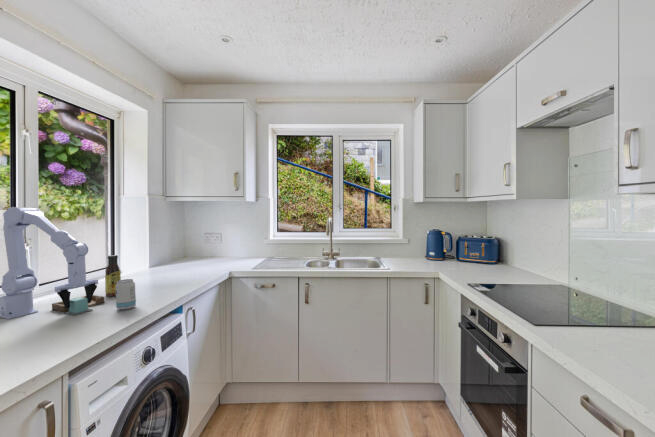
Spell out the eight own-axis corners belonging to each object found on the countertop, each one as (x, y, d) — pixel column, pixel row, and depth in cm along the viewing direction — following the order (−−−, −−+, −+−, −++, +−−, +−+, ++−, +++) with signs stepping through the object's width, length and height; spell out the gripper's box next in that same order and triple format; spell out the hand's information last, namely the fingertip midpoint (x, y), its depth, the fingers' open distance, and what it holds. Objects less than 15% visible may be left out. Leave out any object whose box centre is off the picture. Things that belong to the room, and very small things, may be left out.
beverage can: (119, 307, 133) (117, 279, 132) (137, 305, 135) (136, 278, 135) (114, 312, 126) (113, 283, 126) (133, 309, 129) (132, 281, 128)
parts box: (64, 313, 126) (64, 306, 126) (52, 310, 131) (51, 303, 131) (104, 302, 140) (104, 296, 140) (91, 300, 144) (91, 294, 144)
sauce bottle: (113, 297, 149) (111, 256, 148) (102, 296, 150) (100, 256, 149) (124, 293, 155) (122, 254, 155) (114, 293, 156) (112, 254, 156)
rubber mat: (73, 315, 123) (73, 314, 123) (64, 313, 126) (64, 312, 126) (93, 310, 129) (93, 309, 129) (83, 308, 132) (83, 307, 132)
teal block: (75, 313, 125) (74, 301, 124) (69, 312, 126) (68, 300, 126) (87, 309, 129) (87, 298, 128) (81, 308, 130) (81, 297, 130)
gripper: (60, 276, 119) (62, 311, 119) (101, 269, 132) (103, 301, 132) (51, 275, 122) (52, 309, 122) (92, 268, 135) (93, 299, 135)
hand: (78, 305), depth 127 cm, fingers open, 7 cm apart
